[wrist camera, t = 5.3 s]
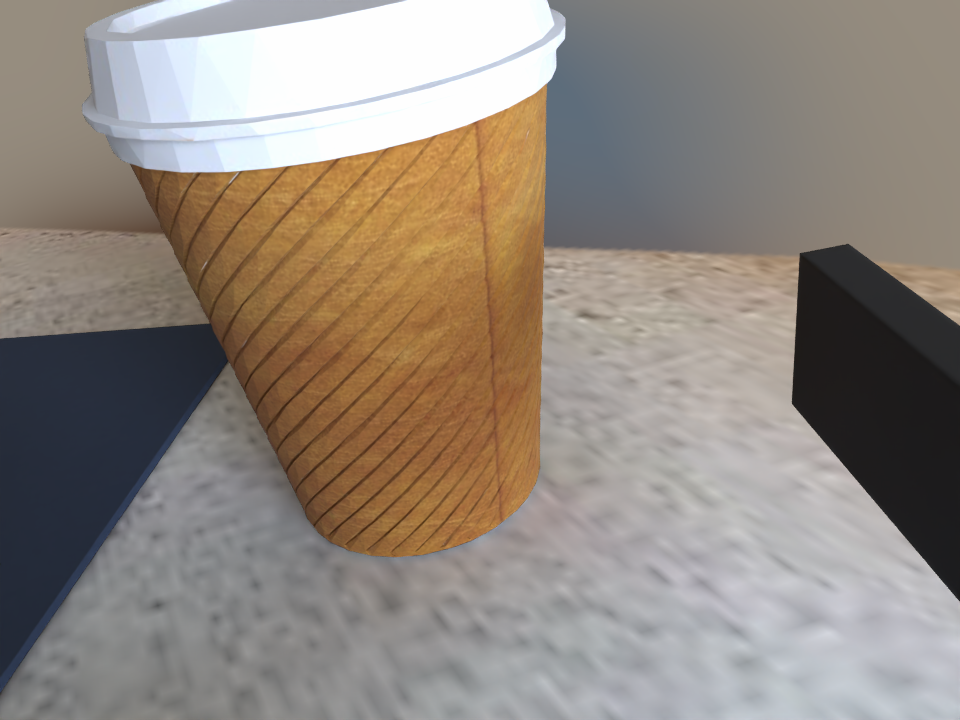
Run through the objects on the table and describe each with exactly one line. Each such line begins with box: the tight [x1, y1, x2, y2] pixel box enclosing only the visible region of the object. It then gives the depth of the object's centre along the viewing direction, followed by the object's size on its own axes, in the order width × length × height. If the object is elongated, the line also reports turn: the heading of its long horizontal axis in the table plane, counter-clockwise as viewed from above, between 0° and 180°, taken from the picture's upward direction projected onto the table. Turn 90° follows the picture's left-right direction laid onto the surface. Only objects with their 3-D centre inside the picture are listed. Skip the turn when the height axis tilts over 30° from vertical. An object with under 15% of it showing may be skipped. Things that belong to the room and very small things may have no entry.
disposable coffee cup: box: [82, 0, 565, 557], centre depth 20 cm, size 10×10×12 cm
